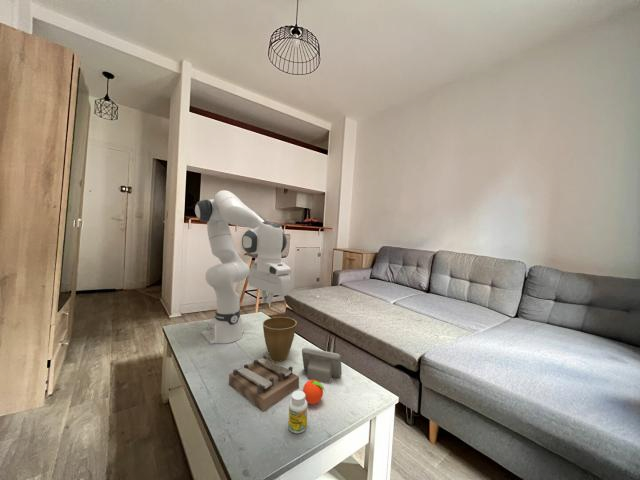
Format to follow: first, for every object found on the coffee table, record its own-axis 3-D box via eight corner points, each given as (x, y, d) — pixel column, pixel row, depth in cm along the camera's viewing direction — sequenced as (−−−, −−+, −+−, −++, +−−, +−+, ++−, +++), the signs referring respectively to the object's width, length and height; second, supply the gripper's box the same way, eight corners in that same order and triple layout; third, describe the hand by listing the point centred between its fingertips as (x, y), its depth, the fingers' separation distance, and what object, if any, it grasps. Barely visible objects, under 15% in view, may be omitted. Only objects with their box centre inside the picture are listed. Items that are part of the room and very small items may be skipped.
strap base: (228, 384, 89) (229, 366, 89) (264, 366, 102) (264, 350, 101) (263, 411, 77) (264, 391, 76) (298, 387, 89) (299, 369, 89)
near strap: (236, 372, 89) (236, 370, 89) (243, 369, 92) (243, 366, 92) (264, 389, 79) (264, 386, 79) (272, 384, 82) (272, 382, 82)
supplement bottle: (308, 421, 74) (309, 390, 73) (304, 435, 68) (305, 402, 68) (291, 418, 75) (292, 387, 74) (286, 432, 69) (287, 399, 69)
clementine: (328, 398, 84) (329, 378, 83) (321, 412, 77) (322, 391, 77) (307, 392, 87) (308, 372, 86) (298, 405, 80) (299, 384, 80)
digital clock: (343, 376, 97) (344, 350, 96) (334, 389, 89) (335, 360, 88) (308, 364, 105) (309, 340, 104) (297, 375, 97) (298, 348, 96)
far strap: (256, 362, 96) (256, 360, 96) (262, 359, 99) (262, 357, 99) (285, 376, 86) (285, 374, 86) (291, 372, 89) (291, 370, 89)
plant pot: (298, 364, 104) (299, 327, 103) (262, 368, 100) (263, 330, 99) (292, 347, 118) (293, 315, 118) (261, 350, 114) (262, 317, 114)
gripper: (245, 262, 94) (243, 297, 95) (281, 271, 81) (278, 311, 82) (258, 261, 99) (256, 294, 100) (294, 269, 86) (291, 307, 87)
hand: (266, 302), depth 91 cm, fingers closed
